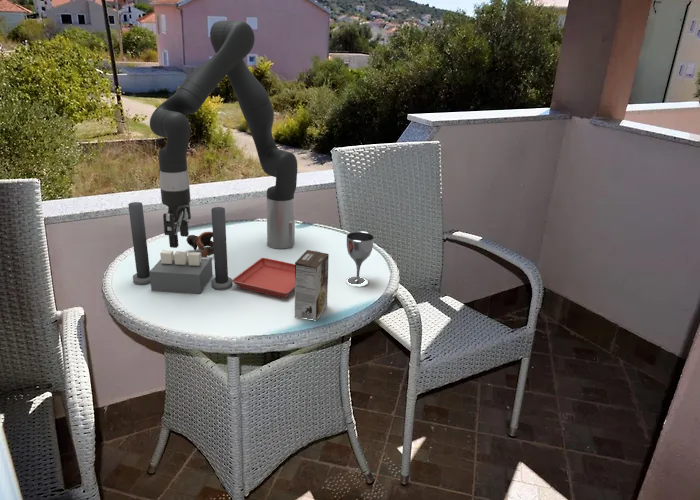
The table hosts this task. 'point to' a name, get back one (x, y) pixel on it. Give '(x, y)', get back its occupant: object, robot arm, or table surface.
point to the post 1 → (139, 244)
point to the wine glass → (359, 251)
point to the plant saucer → (268, 277)
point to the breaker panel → (181, 276)
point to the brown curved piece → (202, 243)
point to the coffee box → (311, 284)
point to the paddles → (180, 258)
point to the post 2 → (220, 250)
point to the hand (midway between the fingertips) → (179, 241)
